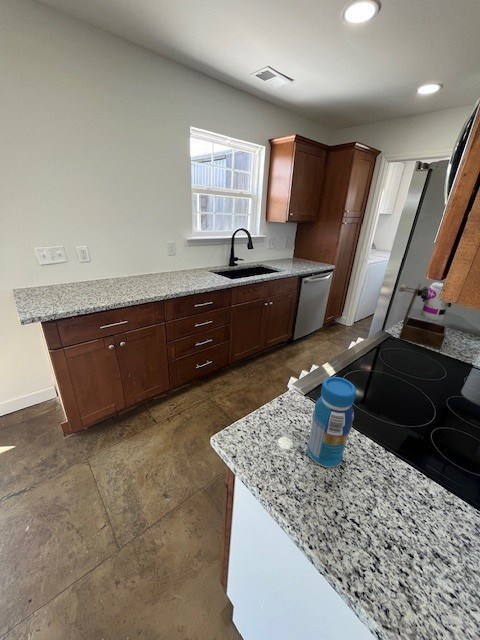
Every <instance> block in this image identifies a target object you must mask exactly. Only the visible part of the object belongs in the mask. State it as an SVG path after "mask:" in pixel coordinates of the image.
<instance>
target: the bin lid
mask: <svg viewBox="0 0 480 640" xmlns="http://www.w3.org/2000/svg"><path fill="white" fill-rule="evenodd" d="M422 285H423V283H422V282H419V283H418V285H417V286H416V288H414V287H409V286H407V284H401V285H400V286H399V288H398V292H400V293H403V292H406V293H407V292H408V293H411V294H413V295H412V298H411V299H410V303H409V306H408V307H407V310H406V313H405V314H404V315H405V316H404V318H403V321H402V325H403V324H405V322H406V320H407V319H408V317H410V314H411V311H412V309H413V307H414V304H415V301H416V299H417V297H418V296H417V294H418V291H419V290H420V289H421V286H422Z"/></svg>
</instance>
